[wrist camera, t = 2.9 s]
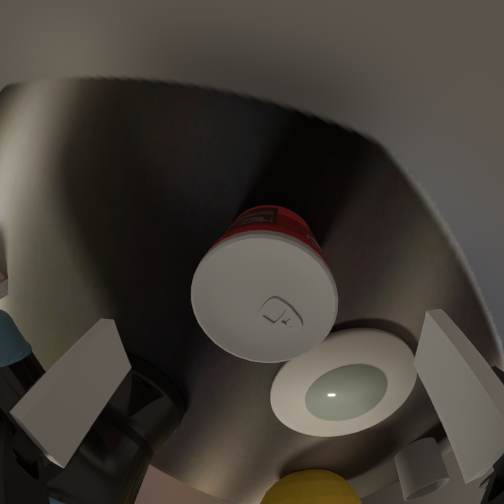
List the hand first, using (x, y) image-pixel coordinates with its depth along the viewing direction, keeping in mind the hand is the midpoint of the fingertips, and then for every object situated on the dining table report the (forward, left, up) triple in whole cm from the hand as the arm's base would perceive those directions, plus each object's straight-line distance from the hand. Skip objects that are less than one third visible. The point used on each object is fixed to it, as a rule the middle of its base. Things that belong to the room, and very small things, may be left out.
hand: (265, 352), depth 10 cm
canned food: (0, 0, -15) cm, 15 cm away
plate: (+8, -18, -15) cm, 25 cm away
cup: (+25, -40, -15) cm, 49 cm away
